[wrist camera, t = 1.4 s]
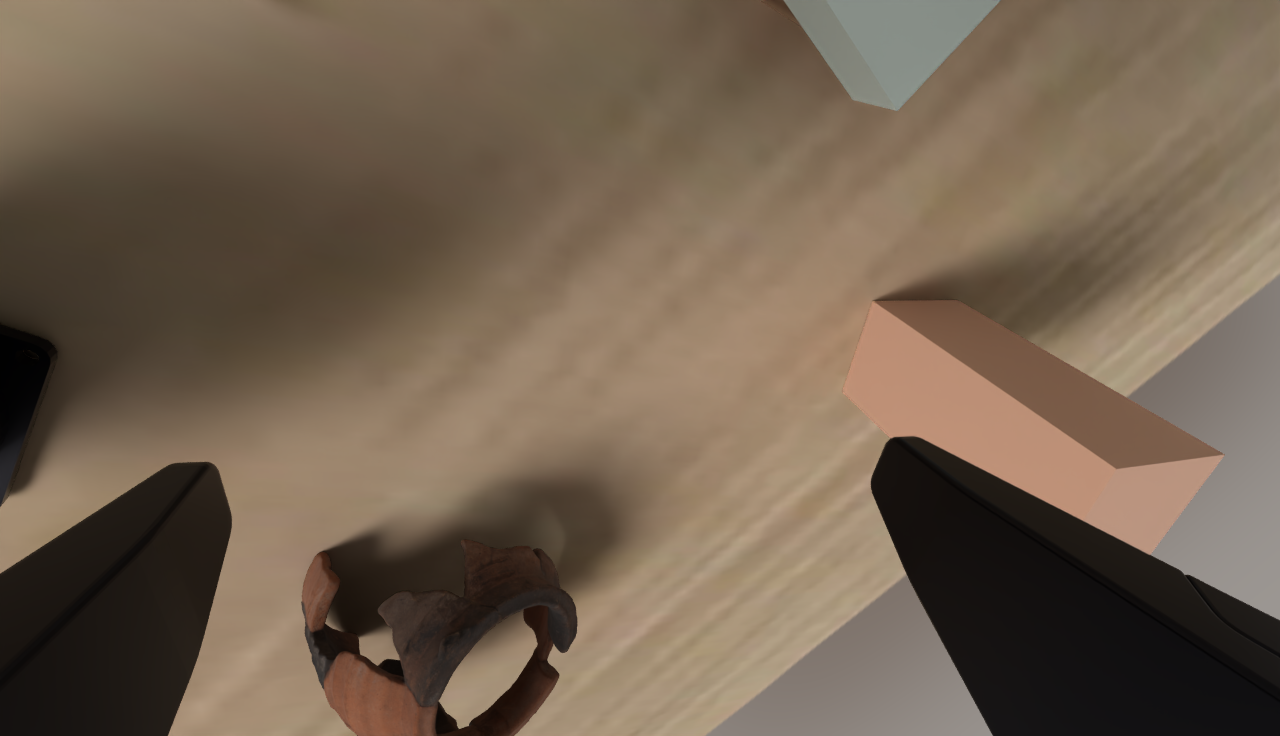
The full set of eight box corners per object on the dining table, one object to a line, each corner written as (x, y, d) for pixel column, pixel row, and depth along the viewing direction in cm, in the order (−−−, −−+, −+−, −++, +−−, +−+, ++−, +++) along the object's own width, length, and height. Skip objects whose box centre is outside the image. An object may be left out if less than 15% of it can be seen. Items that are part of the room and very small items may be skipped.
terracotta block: (841, 391, 28) (1042, 583, 19) (872, 300, 25) (1116, 469, 16) (921, 386, 29) (1143, 562, 20) (957, 299, 27) (1224, 454, 18)
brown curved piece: (302, 483, 23) (418, 608, 18) (503, 463, 30) (624, 546, 25) (246, 755, 25) (336, 934, 20) (448, 673, 32) (549, 787, 27)
